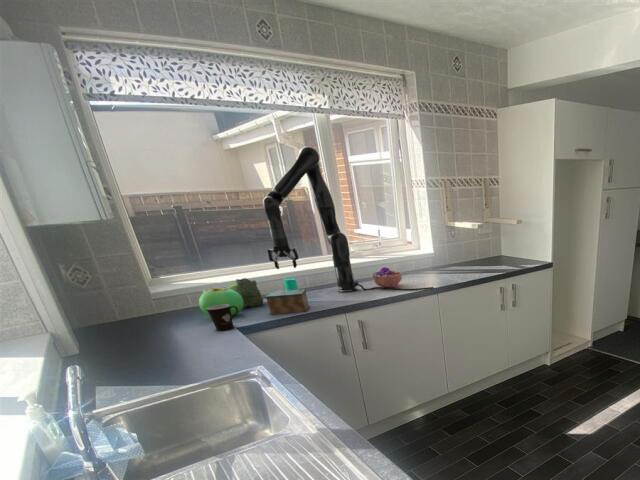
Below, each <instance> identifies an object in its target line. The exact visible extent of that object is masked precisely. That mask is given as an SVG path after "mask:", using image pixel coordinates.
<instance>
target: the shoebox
mask: <svg viewBox="0 0 640 480" xmlns="http://www.w3.org/2000/svg"><path fill="white" fill-rule="evenodd" d="M265 299H266V301H267V305H268V308H269V312H270V315H281V314H292V313H294V314H295V313H303V312H304V313H305V312H307V310H308V309H309V308H310V304H309V299H308V295H307V289H306V288H303V289H298V290H288V291H286V290H277V291H276V290H275V291H269V292H268V294H266V295H265Z"/></svg>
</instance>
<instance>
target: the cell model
mask: <svg viewBox="0 0 640 480" xmlns="http://www.w3.org/2000/svg"><path fill="white" fill-rule="evenodd" d="M371 276H372V278H373V283H375V285H376V286H378V287H386V288H397V286H398V285H399V283H400V282H401V281H402V279H403V276H402V271H398V270H391V269H390V268H388V267H382V268H381V269H380V270H379V271H378V272H373V273H371Z"/></svg>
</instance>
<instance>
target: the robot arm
mask: <svg viewBox="0 0 640 480" xmlns="http://www.w3.org/2000/svg"><path fill="white" fill-rule="evenodd" d="M319 162H320V155H319V152H318V151H317V149H315V148H314V147H313V146H303V147H301V149H300V150H299V152H298V156H297V157H296V160H295V162H294V163H293V165H292V166H291V167H290V169H288V170H287V171H286V172H285V173H284V174H283V175H282V176H281V177H280V178H279V180H278V181H277V182H276V184H275V185H274V186H273V188H272V190H270V191H269V192H268V193H267V195H266V196H265V197H264V198H263V200H262V206H263V208H264V212H265V215H266V220H267V221H266V222H267V225H268V229H269V235H270V239H271V243H272V248H273V249H271V248H269V249H267V255H268V259H269V262H273V264H274V267H275V269H277V270H279V269H280V265H279V262H278V260H279V258H287V257H288V258H289V259H290V260H291V261H292V266H293V268H294V269H296V268H297V266H298V265H297V260H299V258H300V257H299V254H298V250H297V247H292V248H290V244H289V240H288V235H287V233H286V230H285V226H284V222H283V218H282V216H281V209H280V205H281V204H282V203H283V201H284V200H286V198H287V197H289V195H290V194H291V193H292V192H293V190H294V189H295V188H296V187H297V185H298V184H299V183H300V181H301V180H302V178H303V177H304V176H305V175H306V177H307V181H308V184H309V188H310V191H311V194H312V197H313V201H314V204H315V206H316V209H317V212H318V215H319V216H320V219H321V221H322V223H323V227H324V230H325V235H326V239H327V243H328V244H329V245H330V247H331V252H332V262H333V268H334V272H335V277H336V281H337V289H338V291H339V293H348V292H355V291H356V290H357V287H358V286H359V287H361V289H362V290H363V291H371V290H376V289H382V290H394V291H421V290H432V289H434V286H429V287H420V288H419V287H417V288H399V287H398V288H397V287H390V288H386V287H383V286H374V287H370V288H365V287H364V286H363V285H361V284H359V281H358V280H355V276H354V273H353V268H352V263H351V258H350V256H351V253H350V247H349V241H348V238H347V236H346V234H344V233H343V232H342V231H341V229H340V227H339V224H338V221H337V214H336V208H335V203H334V200H333V196H332V194H331V191H330V189H329V187H328V185H327V183H326V181H325V179H324V177H323V174H322V172H321V167H320V163H319ZM291 252H292V253H293V254H291ZM273 253H274V254H275V256H274V257H273ZM293 255H294V256H293Z"/></svg>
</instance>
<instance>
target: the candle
mask: <svg viewBox="0 0 640 480" xmlns="http://www.w3.org/2000/svg"><path fill="white" fill-rule="evenodd" d="M296 279H297V278H294V277H288V278H284V279H283V283H284V287H285V291H288V290H299V286H298V283H297V280H296Z"/></svg>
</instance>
